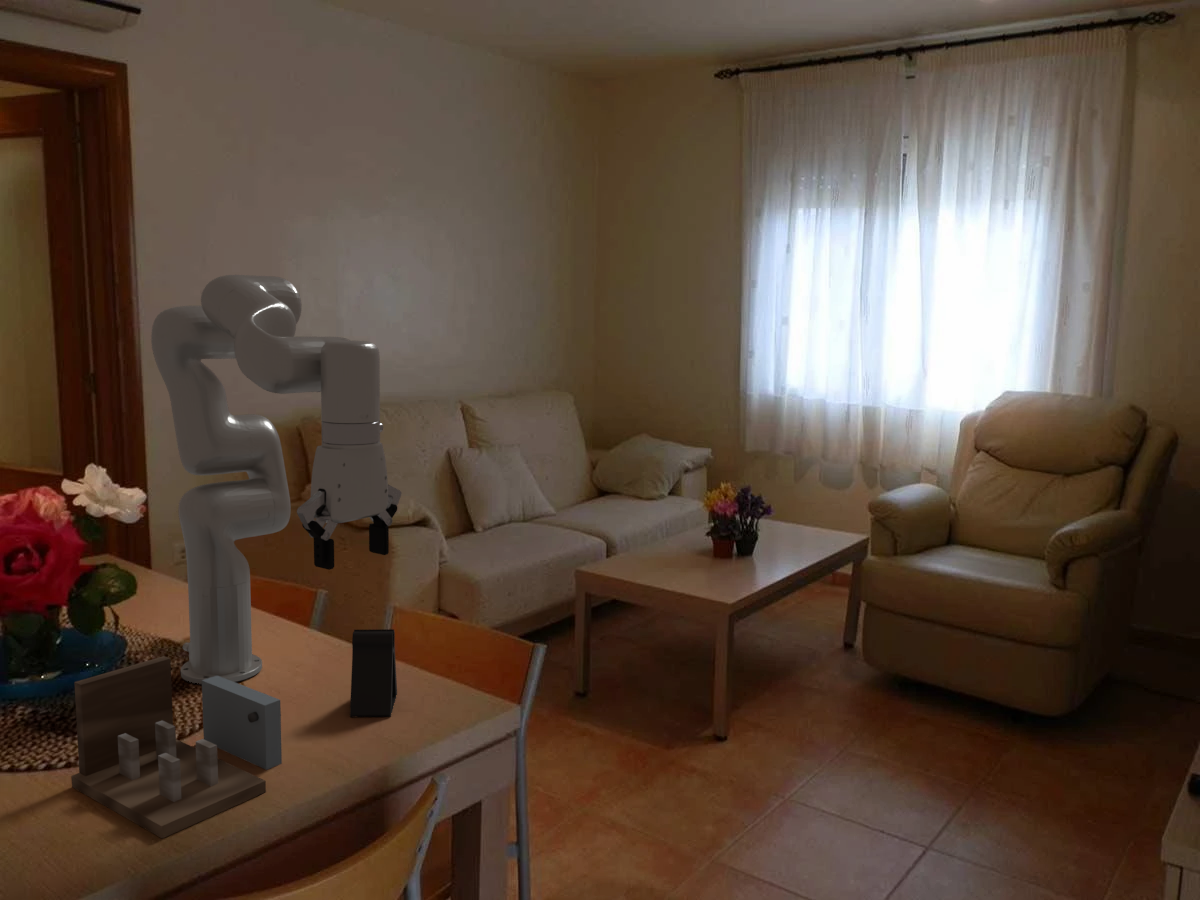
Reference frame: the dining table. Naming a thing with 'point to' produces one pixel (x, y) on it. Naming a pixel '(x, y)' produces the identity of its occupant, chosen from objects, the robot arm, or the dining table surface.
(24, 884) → the dining table surface
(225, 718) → the blue-grey rectangular block
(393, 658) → the phone stand
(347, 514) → the robot arm
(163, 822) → the wooden peg rack
